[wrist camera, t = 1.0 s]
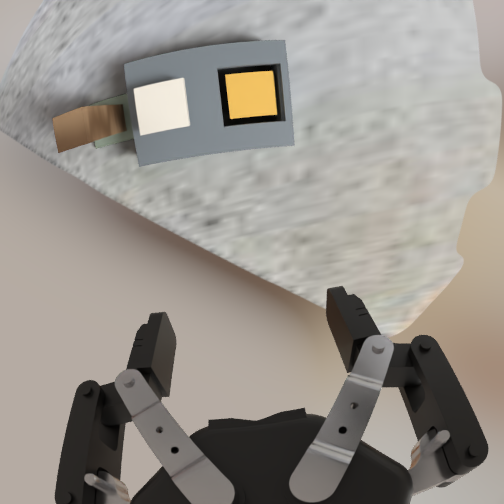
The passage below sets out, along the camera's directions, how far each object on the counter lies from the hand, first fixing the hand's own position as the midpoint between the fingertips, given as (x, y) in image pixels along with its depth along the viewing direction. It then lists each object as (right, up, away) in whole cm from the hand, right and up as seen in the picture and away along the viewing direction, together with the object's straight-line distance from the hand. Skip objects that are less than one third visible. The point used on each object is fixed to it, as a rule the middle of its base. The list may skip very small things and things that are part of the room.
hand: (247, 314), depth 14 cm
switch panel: (-5, +21, +17) cm, 27 cm away
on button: (-9, +19, +13) cm, 25 cm away
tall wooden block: (-17, +19, +16) cm, 30 cm away
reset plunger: (0, +20, +15) cm, 25 cm away
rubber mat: (-17, +19, +16) cm, 31 cm away
